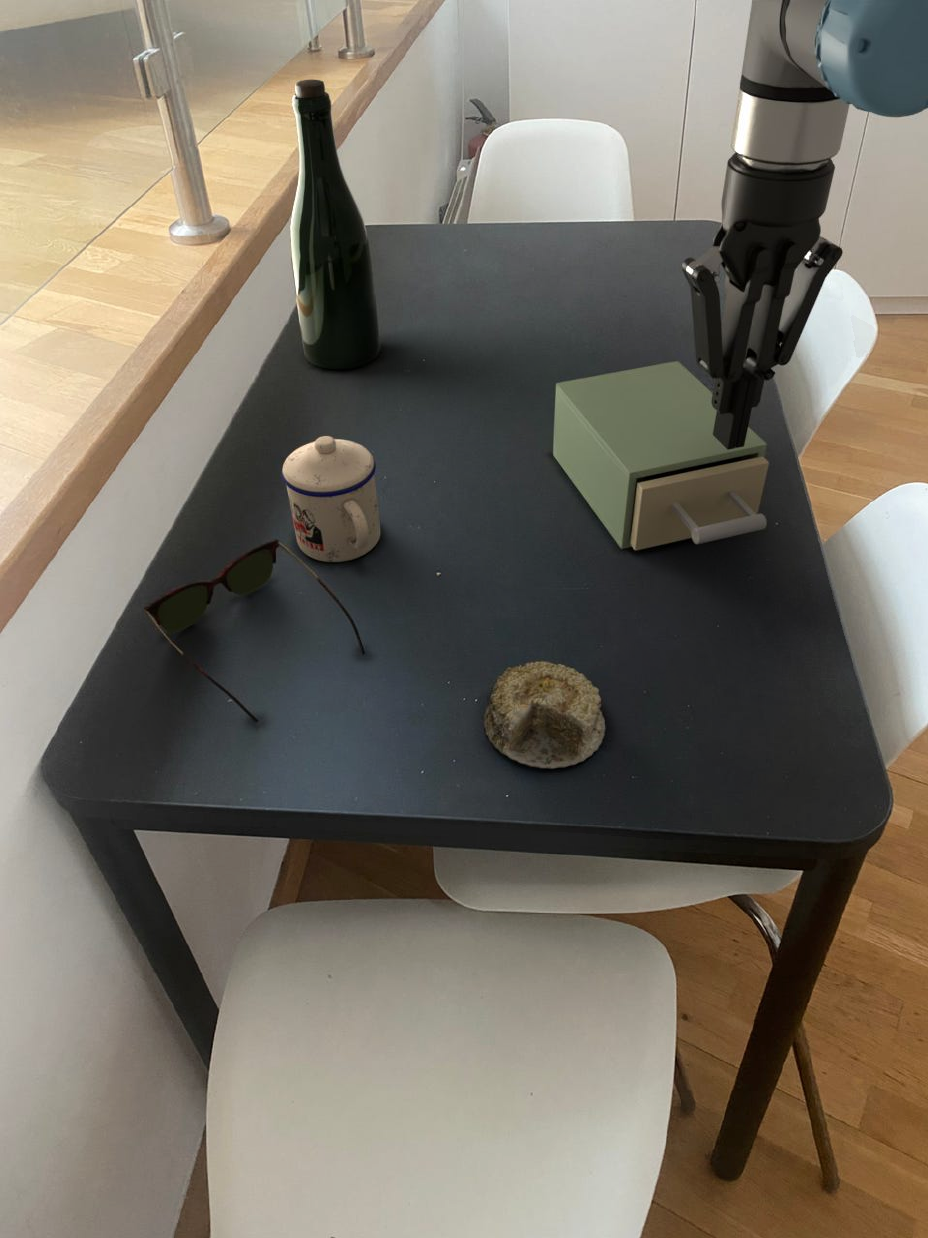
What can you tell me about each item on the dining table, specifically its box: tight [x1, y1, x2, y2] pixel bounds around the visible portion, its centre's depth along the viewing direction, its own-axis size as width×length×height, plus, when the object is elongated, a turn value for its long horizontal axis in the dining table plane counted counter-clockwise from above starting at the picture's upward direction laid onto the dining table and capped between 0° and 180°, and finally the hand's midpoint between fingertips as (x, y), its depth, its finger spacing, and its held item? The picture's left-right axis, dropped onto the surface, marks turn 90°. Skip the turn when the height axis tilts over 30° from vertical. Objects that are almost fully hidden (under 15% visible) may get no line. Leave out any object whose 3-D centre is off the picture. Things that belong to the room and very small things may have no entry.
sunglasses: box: [143, 538, 366, 723], centre depth 82 cm, size 14×15×5 cm
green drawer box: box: [552, 360, 768, 550], centre depth 97 cm, size 19×15×9 cm
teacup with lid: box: [281, 435, 381, 563], centre depth 90 cm, size 12×9×12 cm
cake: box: [482, 660, 606, 770], centre depth 74 cm, size 10×10×5 cm
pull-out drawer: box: [630, 455, 770, 552], centre depth 94 cm, size 23×13×7 cm, turn 18°
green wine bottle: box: [288, 79, 381, 370], centre depth 115 cm, size 10×10×33 cm
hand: (728, 440), depth 82 cm, fingers closed
